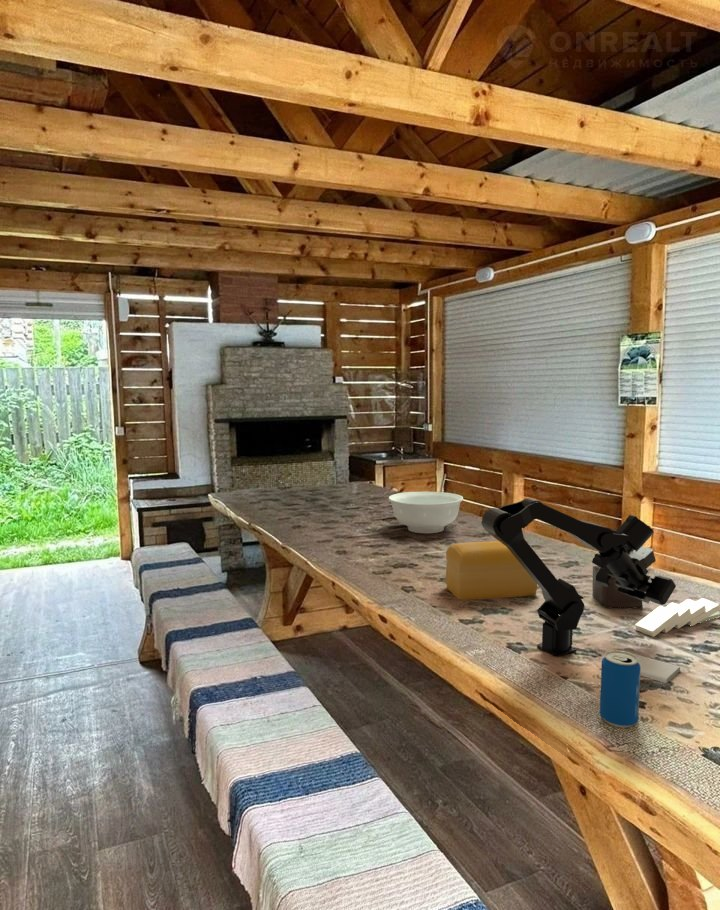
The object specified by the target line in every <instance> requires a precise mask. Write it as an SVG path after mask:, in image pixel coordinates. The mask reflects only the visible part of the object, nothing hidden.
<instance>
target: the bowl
mask: <svg viewBox="0 0 720 910" xmlns="http://www.w3.org/2000/svg"><path fill="white" fill-rule="evenodd" d="M388 501H389V502H390V504H391V506H392V511H393V515H394V517H395V518H396V519H397V521H398V522H399V523H401V524H402V525H404V526H407V529H408V531H409V532H412V533H417V534H437V533H441V532H443V531H444V529H445V526H449V524H451V523H453V522H454V520H455V519H456V518H457V517H458V514H459V511H460V505H461V503H462V502H463V501H464V496H463V495H460V494H457V493H452V492H442V491H407V492H399V493H395V494H394V493H393V494H391V495H389V497H388Z"/></svg>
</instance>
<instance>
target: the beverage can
mask: <svg viewBox="0 0 720 910" xmlns="http://www.w3.org/2000/svg"><path fill="white" fill-rule="evenodd" d="M622 651H623V650H622ZM622 651H621V650H609V651H606V652H605V653H604V654H603V655H604V657H603V658H602V659H601V666H600V667H601V670H600V694H599V695H600V699H599V715H600V717H601V719H603V720H604V721H605V722H606V723H607V724H608V725H610V726H613V727H616V728H621V729H626V728H631V727H633V726H634V725H636V724H638V723H639V709H640V689H641V675H640V664H639V663H638V658H637V657H636V656H634V655H632V654H630V653H631V652H629V653H627V652H628V651H626V652H622Z"/></svg>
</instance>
